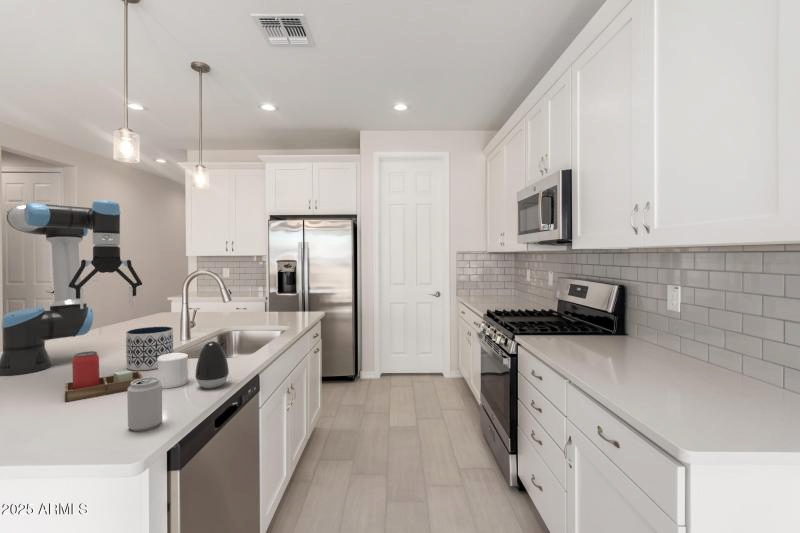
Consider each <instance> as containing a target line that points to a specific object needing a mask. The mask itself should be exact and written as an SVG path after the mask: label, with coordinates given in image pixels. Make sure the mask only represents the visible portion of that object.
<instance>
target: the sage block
mask: <svg viewBox="0 0 800 533" xmlns="http://www.w3.org/2000/svg"><path fill="white" fill-rule="evenodd" d="M113 376H114V383H116V382H122V381H128V380H133V371H132V370H131V371H130V369H125V370H121V371H117V372H116V371H115V372H113Z"/></svg>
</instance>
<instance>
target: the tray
mask: <svg viewBox="0 0 800 533" xmlns="http://www.w3.org/2000/svg"><path fill="white" fill-rule="evenodd" d="M132 372H133V371H132ZM141 378H144V377H143V375H142V373H141V372H140V371H134V372H133V380H128V381H122V382H116V383H114V375H107V376H104V377H99V386H93V387H87V388H81V389H75V390H73V381H72V382H66V383H64V386H65V387H64V398H65V399H64V401H65V403H68V402H69V401H70V402H73V401H74V402H75V401H79V400H80V401H81V400H86V399H91V398H95V397H96V398H97V397H100V396H101V397H102V396H106V395H112V394H117V393H118V394H119V393H123V392H127V389H128V388H129V387H130V386H131V384H130V383H131V382H132V381H134V380H137V379H141Z"/></svg>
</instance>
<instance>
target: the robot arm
mask: <svg viewBox="0 0 800 533" xmlns="http://www.w3.org/2000/svg"><path fill="white" fill-rule="evenodd" d="M120 208H121V207H120V203H118V202H117V201H114V200H113V201H112V200H101V199H99V200H98V199H96V200H93V201H92V205H91V207H82V206H72V205H71V206H69V205H59V204H48V203H40V202H35V203H33V202H29V203H27V204H25V205H18V206H15V207H12V208H11V209H9V210H8V212H7V214H6V221H7V223H8V225H9V226H10V227H11V228H12V229H14V230H16V231H19V232H20V233H21V232H22V233H27V234H31V235H43V236H44V235H45V240H46V242H49V243H50V244H51V261H52V278H53V280H52V281H53V298H54V299H53V300H54V301H53V302H52V303H50V305H49V310H45V308H44V307H33V308H32V307H31V308H23V309H19V310H15V311H10V312H7V313H5V314H4V315H3V316H2V319H1V320H2V322H1V329H2V330H1V331H2V332H1V333H2V334H1V335H2V354H1V356H0V376H17V375H18V376H19V375H24V374H30V373H36V372H40V371H43V370H47V369H49V368H51V366H52V360H51V357H50V355H49V354H48V351H47V349H46V347H45V345H46V344H45V342H46V341H49V340H57V339H63V338H72V337H77V336H84V335H86V334H88V333H89V332H90V330H91V328H92V326H93V321H94V313H93V312H94V311H93V308H92V307H90V306H88V304H87V302H86V301H85V300H84V288H82V287H83V286H85V284H86V283H87V282H89V281H90V280H91V278H93V277H94V276H95V275H96V274H97V273H98V272H99V273H101V274H104V273H108V274H110V273H111V274H113V273H115V272H116V273H117V274H118V275H119V276H120V277H121V278H123V280H125V281H126V282H127V283H128V284H129V285H130V286H129V288H128V289H129V290H128V291H129V293H128V297H129V299H128V300H129V301H128V302H129V303H128V304H129V307H132V306H133V303H134V302H133V297H136V296H137V287H139V286H142V285H143V282H142V280H141V279H140V277H139V275H138V274H137V272H136V271H135V269H134V267H133V266H132V265H133V264H132V261H131V259H125V260H122V259H121V247H120V245H121V234H120V233H121V211H120ZM89 230H90V231H91V230H92V245H94V246H92V260H85V259H82V260H81V261H80V248H79V245H80V243H81V242H82V241H83V239H84V238H83V237H86V236H87V235H88V233H89V232H88V231H89ZM122 264H123V265H124V267H127V269H128V270H129V272H130V274H131V275H132V277H133V279H134V280H135V281H136V282H134V281H133V280H132V279H131V278H130V277H129V276H127V275H126V274H125V273H124V271H123V270H122V269H120V266H122ZM89 265H92V266H93V267H94V269H92V271H90V273H88V274H87V275H86V276H85V277H84V278H83V279H82V280H81V275H82V273H83V272H84V270H85V268H86V267H88V266H89Z"/></svg>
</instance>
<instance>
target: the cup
mask: <svg viewBox="0 0 800 533" xmlns="http://www.w3.org/2000/svg"><path fill="white" fill-rule="evenodd" d="M188 358H189V355H188V354H187V353H183V352H173V353H169V354H164V355H161V356H159V357H158V359H157V361H158V369H157V373H156V374H157V376H156V378H159V382H160V383H162V389H174V388H179V387H182V386H185V385H187V383H188V380H189V369H188Z"/></svg>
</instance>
